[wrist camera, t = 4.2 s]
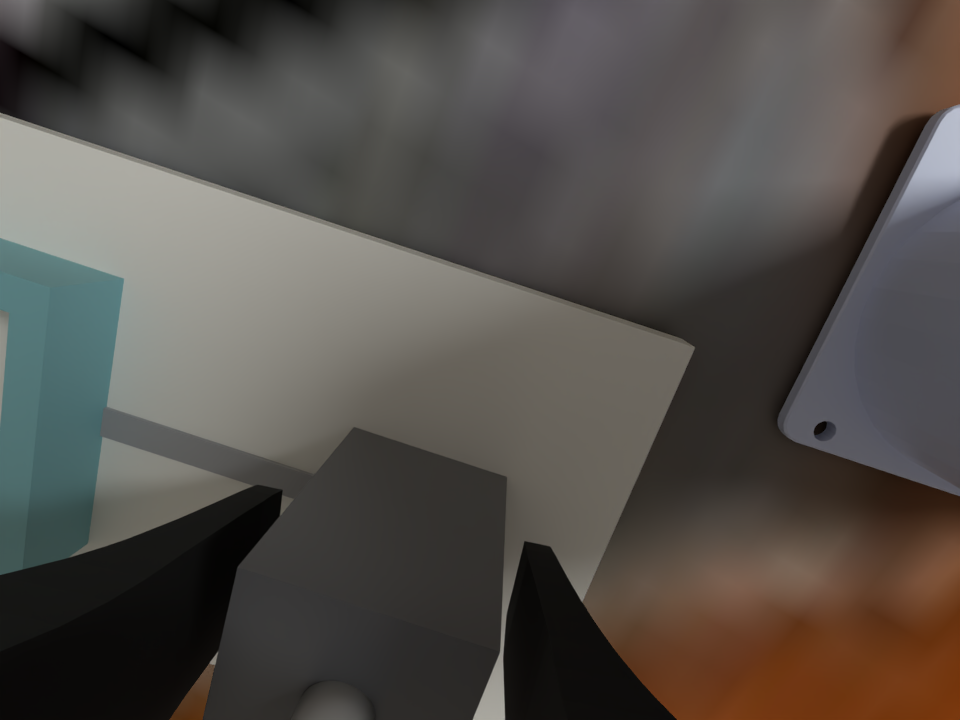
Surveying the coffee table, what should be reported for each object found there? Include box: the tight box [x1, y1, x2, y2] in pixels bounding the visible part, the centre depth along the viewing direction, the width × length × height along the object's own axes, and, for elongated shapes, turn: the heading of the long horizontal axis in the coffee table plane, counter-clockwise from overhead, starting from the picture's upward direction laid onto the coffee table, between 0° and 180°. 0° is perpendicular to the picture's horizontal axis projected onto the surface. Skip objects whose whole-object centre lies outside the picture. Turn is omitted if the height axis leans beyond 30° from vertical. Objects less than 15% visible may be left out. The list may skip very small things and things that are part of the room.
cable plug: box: [203, 427, 507, 720], centre depth 10 cm, size 4×4×6 cm
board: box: [0, 113, 695, 720], centre depth 13 cm, size 22×13×3 cm, turn 72°
